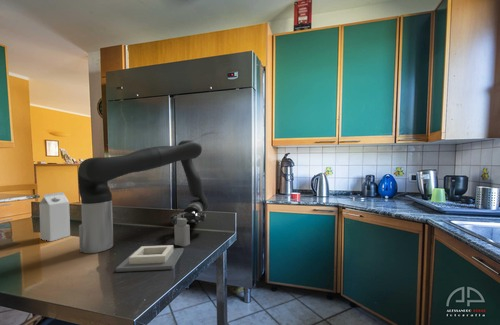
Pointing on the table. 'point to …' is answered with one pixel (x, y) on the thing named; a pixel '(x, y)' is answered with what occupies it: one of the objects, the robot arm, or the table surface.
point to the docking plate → (151, 258)
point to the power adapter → (182, 232)
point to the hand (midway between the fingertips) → (184, 221)
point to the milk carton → (54, 217)
